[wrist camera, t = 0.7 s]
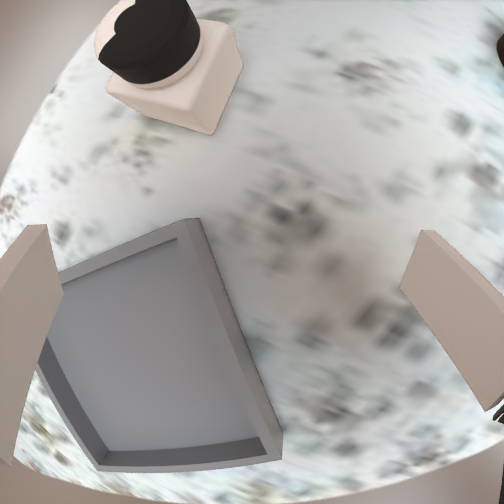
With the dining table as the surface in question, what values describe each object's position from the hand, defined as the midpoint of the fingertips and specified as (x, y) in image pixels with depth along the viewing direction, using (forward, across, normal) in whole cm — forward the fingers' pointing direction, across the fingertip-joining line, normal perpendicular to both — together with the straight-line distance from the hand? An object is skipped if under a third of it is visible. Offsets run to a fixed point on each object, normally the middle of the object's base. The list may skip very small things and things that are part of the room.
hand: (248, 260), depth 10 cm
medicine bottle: (+21, -2, +4) cm, 21 cm away
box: (+11, -7, -20) cm, 24 cm away
